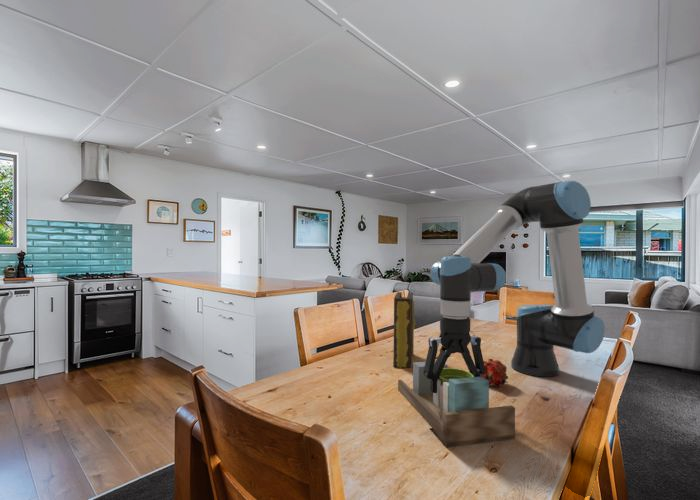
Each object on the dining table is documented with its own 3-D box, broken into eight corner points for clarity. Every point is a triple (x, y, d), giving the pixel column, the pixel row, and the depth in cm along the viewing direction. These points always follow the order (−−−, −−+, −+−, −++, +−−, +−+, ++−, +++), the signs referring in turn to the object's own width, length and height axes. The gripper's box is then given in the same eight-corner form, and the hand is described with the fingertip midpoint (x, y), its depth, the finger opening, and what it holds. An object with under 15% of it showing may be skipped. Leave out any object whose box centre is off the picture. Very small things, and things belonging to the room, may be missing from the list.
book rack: (450, 388, 108) (450, 346, 107) (514, 438, 79) (515, 381, 79) (398, 393, 104) (398, 349, 104) (445, 447, 75) (446, 387, 75)
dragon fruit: (499, 384, 116) (490, 401, 106) (477, 365, 119) (466, 381, 110) (515, 367, 112) (507, 384, 103) (492, 348, 116) (482, 363, 106)
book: (414, 369, 124) (414, 299, 124) (389, 367, 126) (390, 298, 126) (415, 352, 146) (415, 291, 146) (394, 350, 148) (395, 291, 148)
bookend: (440, 387, 106) (441, 360, 106) (447, 392, 102) (447, 364, 102) (412, 389, 104) (413, 362, 104) (418, 394, 100) (418, 366, 100)
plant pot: (464, 398, 96) (464, 367, 96) (480, 415, 87) (480, 380, 86) (431, 400, 95) (431, 368, 95) (443, 417, 86) (443, 381, 86)
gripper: (484, 312, 97) (483, 393, 97) (409, 314, 92) (409, 400, 92) (501, 317, 89) (500, 405, 90) (421, 320, 85) (421, 413, 85)
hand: (454, 403), depth 91 cm, fingers open, 9 cm apart
